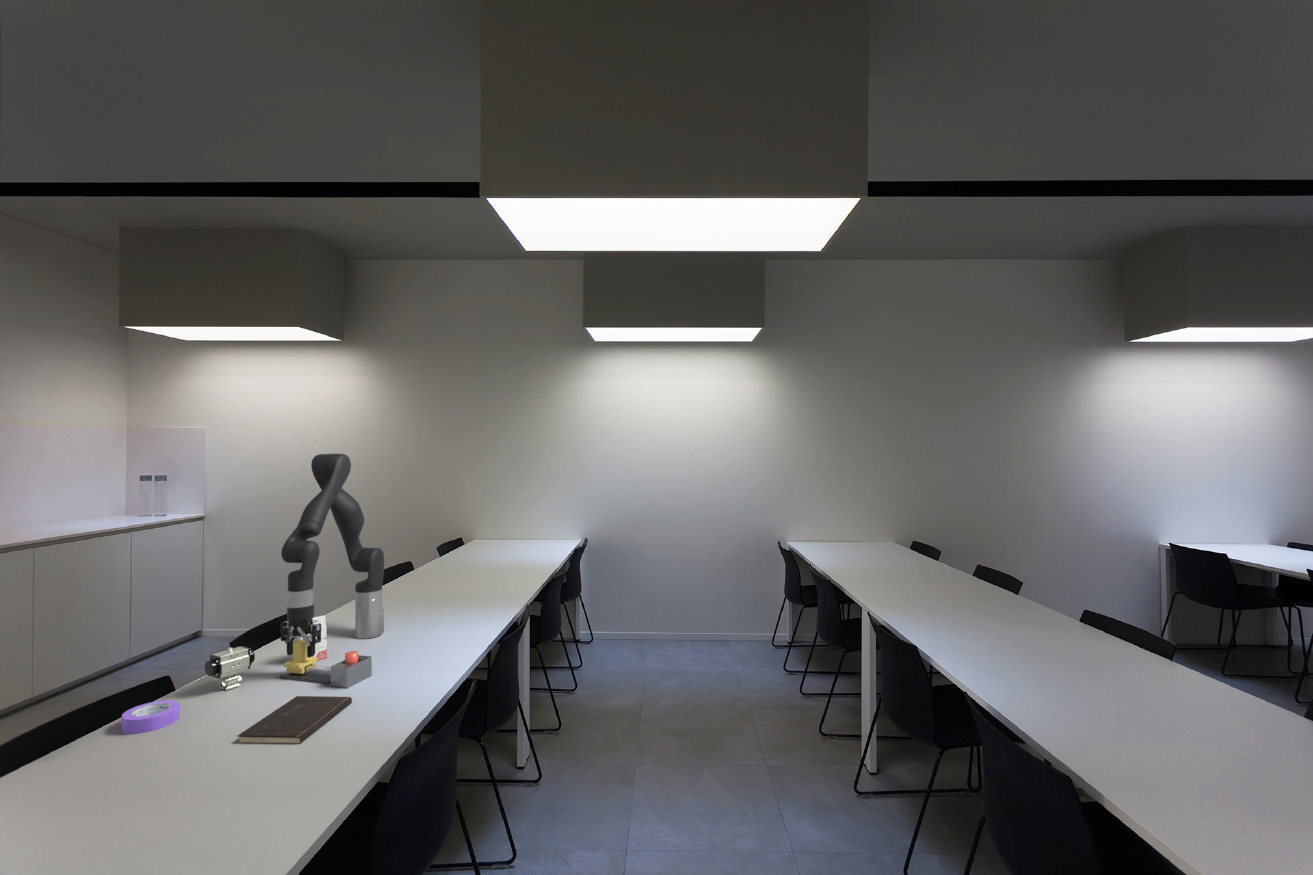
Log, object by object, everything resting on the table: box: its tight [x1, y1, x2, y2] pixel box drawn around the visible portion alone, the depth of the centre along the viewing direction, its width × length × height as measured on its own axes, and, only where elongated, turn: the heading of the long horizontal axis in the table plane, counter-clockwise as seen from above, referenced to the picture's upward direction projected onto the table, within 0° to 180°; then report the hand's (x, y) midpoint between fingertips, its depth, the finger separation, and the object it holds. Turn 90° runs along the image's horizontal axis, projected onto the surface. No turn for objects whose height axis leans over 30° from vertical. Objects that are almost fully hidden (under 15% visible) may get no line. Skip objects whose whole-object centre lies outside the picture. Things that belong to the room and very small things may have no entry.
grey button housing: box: [330, 654, 373, 689], centre depth 187 cm, size 10×6×6 cm, turn 164°
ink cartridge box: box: [293, 614, 328, 661], centre depth 205 cm, size 9×5×15 cm, turn 143°
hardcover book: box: [236, 695, 353, 745], centre depth 160 cm, size 16×23×2 cm
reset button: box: [344, 650, 359, 664], centre depth 187 cm, size 4×4×5 cm
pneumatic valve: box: [204, 645, 256, 691], centre depth 182 cm, size 6×12×12 cm, turn 152°
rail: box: [279, 664, 331, 685], centre depth 191 cm, size 8×19×3 cm, turn 74°
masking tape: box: [121, 699, 180, 735], centre depth 159 cm, size 12×12×4 cm
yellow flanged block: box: [283, 639, 319, 674], centre depth 192 cm, size 7×6×9 cm
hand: (300, 655), depth 192 cm, fingers open, 7 cm apart
